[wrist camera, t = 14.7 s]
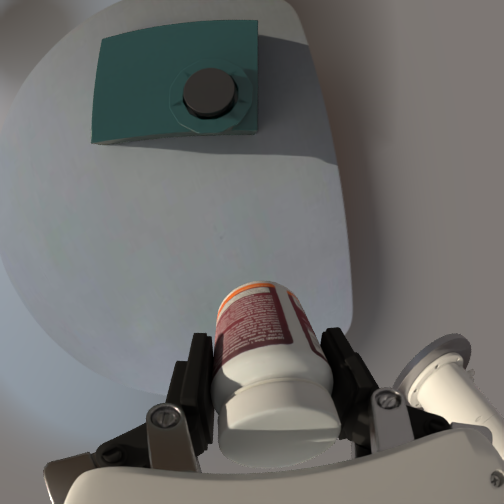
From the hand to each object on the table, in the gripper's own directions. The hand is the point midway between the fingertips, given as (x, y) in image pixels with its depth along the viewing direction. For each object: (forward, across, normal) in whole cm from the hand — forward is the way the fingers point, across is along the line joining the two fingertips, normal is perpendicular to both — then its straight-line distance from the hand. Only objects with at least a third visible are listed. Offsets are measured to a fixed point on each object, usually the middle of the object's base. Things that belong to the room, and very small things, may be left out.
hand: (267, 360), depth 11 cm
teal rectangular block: (+18, +7, -18) cm, 26 cm away
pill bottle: (+4, 0, 0) cm, 4 cm away
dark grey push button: (+13, +3, -14) cm, 20 cm away
